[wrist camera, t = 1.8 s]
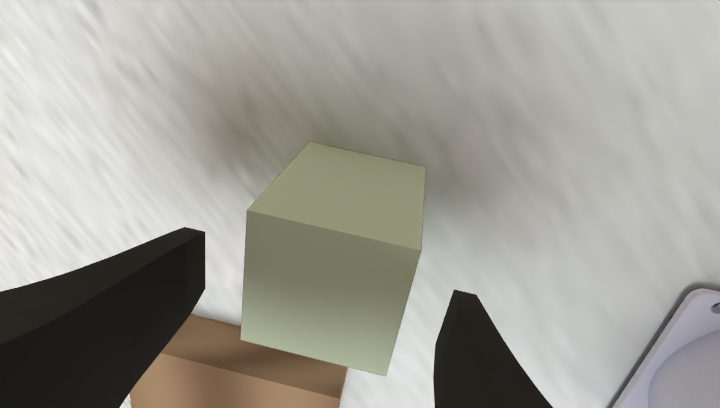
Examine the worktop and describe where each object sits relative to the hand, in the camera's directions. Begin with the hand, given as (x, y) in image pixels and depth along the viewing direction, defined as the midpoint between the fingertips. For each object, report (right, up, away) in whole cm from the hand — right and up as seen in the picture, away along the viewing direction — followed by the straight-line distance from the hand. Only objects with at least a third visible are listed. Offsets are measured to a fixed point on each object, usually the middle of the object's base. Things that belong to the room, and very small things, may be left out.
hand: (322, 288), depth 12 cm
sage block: (+1, +2, +5) cm, 6 cm away
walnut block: (-5, -8, +11) cm, 15 cm away
